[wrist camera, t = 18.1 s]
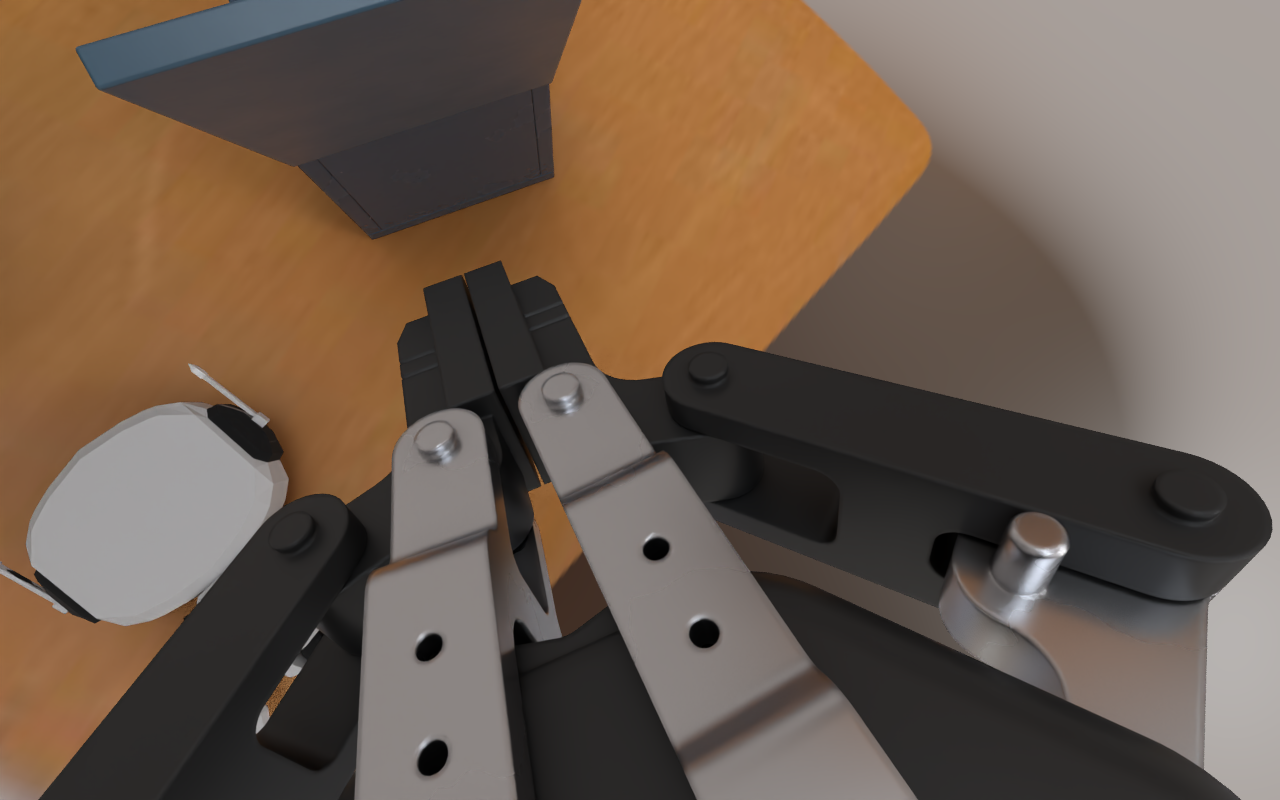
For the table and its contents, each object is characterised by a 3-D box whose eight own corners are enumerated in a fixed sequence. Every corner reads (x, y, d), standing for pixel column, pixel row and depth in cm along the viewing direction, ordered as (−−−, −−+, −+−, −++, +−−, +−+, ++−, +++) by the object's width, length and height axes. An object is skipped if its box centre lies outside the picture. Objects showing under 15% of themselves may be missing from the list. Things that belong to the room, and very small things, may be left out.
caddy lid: (71, 46, 12) (96, 90, 12) (592, -104, 13) (605, -62, 13) (282, 146, 23) (293, 167, 24) (545, 62, 25) (552, 83, 25)
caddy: (293, 43, 34) (182, -114, 24) (478, -12, 35) (444, -182, 25) (372, 240, 34) (292, 162, 24) (554, 177, 35) (549, 79, 25)
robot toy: (438, 552, 34) (224, 359, 32) (423, 575, 30) (174, 352, 28) (268, 725, 33) (34, 533, 31) (226, 777, 28) (-51, 555, 26)
